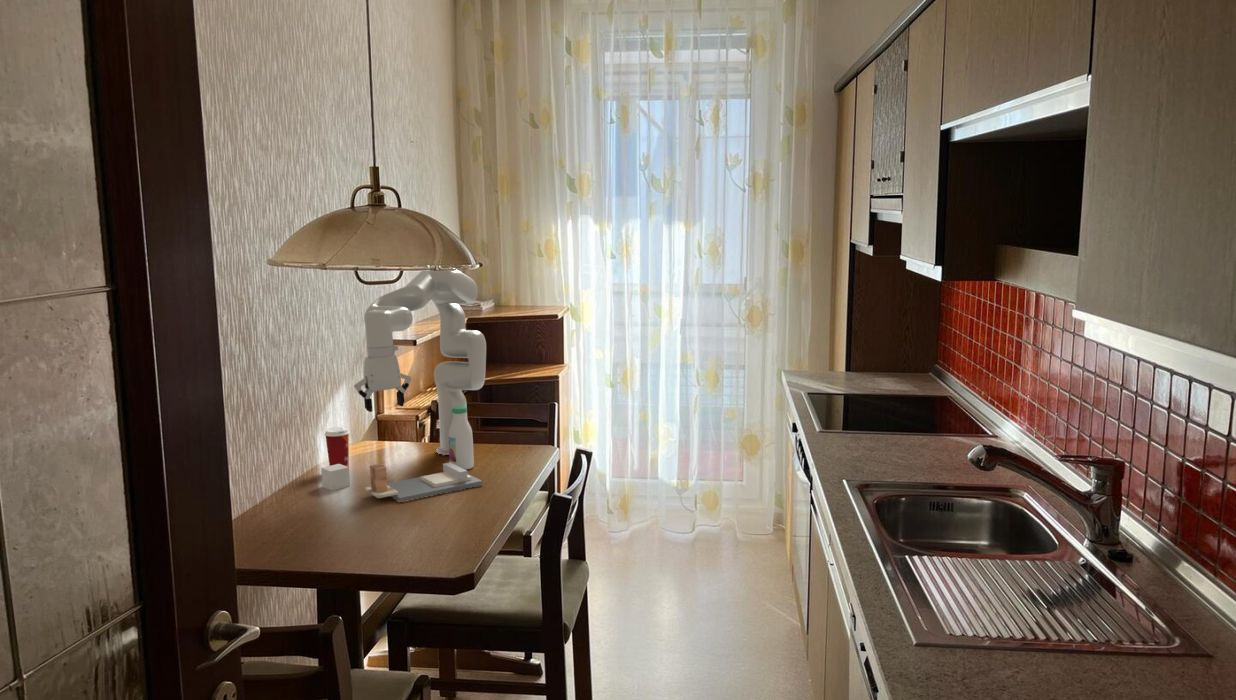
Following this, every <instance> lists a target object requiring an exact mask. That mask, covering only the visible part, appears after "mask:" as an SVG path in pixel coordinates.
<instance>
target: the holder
mask: <svg viewBox="0 0 1236 700" xmlns="http://www.w3.org/2000/svg"><path fill="white" fill-rule="evenodd" d="M442 471H443V472H437V473H432V474H428V475H426V474H425V475H423V476H422V475H421V476H418V477H413V478H409V479H404V480H398V481H393V482H389V483H388V482H387V485H388V486H390V487H392V488H393V489H395V490H396V491H398V494H397V495H392V496H391V498H392V497H393V498H395V499H396V500H398V501H400V502H401V501H406V500H411V499H416V498H421V497H425V496H431V495H436V494H440V493H445V494H447V493H446V492H450V491H455V490H460V489H464V490H466V489H465V488H469V489H473V488H472V487H474V488H477V487H482V486H483V481H482V480H481V479H479V478H478V477H476V476H473V475H471V474H469V473H468V469H467V470H465V469H463V468H461V467H458V466H456V465H454V464H452V463H450V461H449V462H445V463H442ZM470 487H471V488H470ZM460 491H461V490H460ZM455 492H456V491H455ZM450 493H451V492H450ZM436 496H437V495H436ZM431 497H432V496H431ZM393 498H392V499H393ZM395 499H394V500H395ZM396 500H395V501H396ZM398 501H397V502H398Z"/></svg>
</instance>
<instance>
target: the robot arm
mask: <svg viewBox="0 0 1236 700" xmlns="http://www.w3.org/2000/svg"><path fill="white" fill-rule="evenodd" d="M478 293H479V290H478V285H477V283H476V282H475V281H474V279H473V278H472V277H469V276H468V275H466V274H465V273H463V272H462V271H460V270H458V269H456V270H454V271H425V270H424V269H422V271H420V272H419V273H418V274H417V275H416V276H415V277H414V278H413V279H411V280H410V281H409V282H408V284H406V285H404V286H403V287H401V288H398V289H395V290H392V291H391V292H388V293H385V294H383V295H381V296H379V297H378V298H376V299H375V300H374V301H373V302H372V303H371V304H370V305H369V306H368V307H367V309H366V311H365V313H364V316H363V319H364V321H363V322H364V325H365V327H364V328H365V338H366V350H367V357H365V358H364V362H363V363H364V364H363V378H362V379H360V381H358V382H357V383H355V384H354V385H353V387H354V389H355V390H356V392H357V394H358V395H360V396H361V397H362V398H363V401H364V409H365V410H366V411H368V412H369V413H372V412H373V400H372V398H371V396H372V395H373V393H374V392H382V391H386V390H387V391H388V390H393V389H396V390H397V391H396V403H397V406H400V407H404V405H405V404H404V403H405V393H406V390H407V389H408V388H409V387H410V383H411V380H412V377H411V376H409V375H406V374H404V373H401V369H400V364H399V360H398V357H397V355H396V354H395V352H396V351H398V350H399V346H398V345H395V344H394V336H393V332H394V333H395V332H404V331H405V330H409V328H410V327H411V325H412V324H413V321H414V316H413V314H412V312H414V311H418V310H420V309H422V308H424V307H425V306H426V305H427V304H428V303H429V302H430V301H432V302H433V304H434V305H435V307H436V308H437V311H438V312H439V316H440V317H439V319H440V324H439V326H440V327H439V349H440V354H441V355H442V356H444V357H447V358H455V359H456V358H457V359H458V358H462V359H468V361H452V360H449V361H443V362H440V363H438V364H436V366H435V368H434V371H433V379H434V384H435V386H436V391H437V402H438V403H437V404H438V419H439V421H438V422H439V444H440V446H439V447H436V449H435V453H436V452H437V453H438V454H437V453H436V454H437V455H439V454H442V455H441V456H445V455H449V429H450V426H451V423H452V420H453V413H452V408H453V407H457V406H464V407H466V408H467V409H468V407H467V405H468V403H467V399H466V396H465V394H464V393H463V391H462V390H465V391H478V390H480V389H482V388H483V386H484V384H485V382H486V381H485V380H486V373H487V371H486V370H487V368H486V367H487V366H486V365H487V341H486V338H485V335H484V333H482V332H481V331H479V330H475V329H474V330H473V329H472V330H471V329H467V328H466V314H465V312H464V309H463V308H462V306H461V305H467V304H469V305H470V304H472V303H474V302H475V301H476V299H477V297H478ZM402 379H404V383H402ZM363 386H364V389H365V390H364V391H363V390H362V387H363ZM466 417H467V418H468V413H467V414H466Z"/></svg>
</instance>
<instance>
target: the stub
mask: <svg viewBox="0 0 1236 700" xmlns="http://www.w3.org/2000/svg"><path fill="white" fill-rule="evenodd" d="M369 474H370V486H366V487H365V488H364V489H365V491H366V492H368V493H369V494H371V495H372V496H374V497H375V498H377V499H383V498H387V497H390V496H392V495H397V494H398V491H396V490H395V489H393V488H392V487H390V486H388V485H387V483H388V476H387V467H386V466H385V465H383V464H381V463H377V464H371V465H369Z"/></svg>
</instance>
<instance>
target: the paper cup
mask: <svg viewBox="0 0 1236 700" xmlns="http://www.w3.org/2000/svg"><path fill="white" fill-rule="evenodd" d="M350 433H351V432H350V431H349V429H348V428H347V427H346V426H338V427H335V426H334V427H330V428H327V429H325V433H324V436H325V441H326V448H327V457H328V465H329V466H331V465H336V464H341V465H344V466H347V467H349V466H350V464H349V463H350V462H349V461H350V458H349V457H350V456H349V454H350V453H349V452H350V451H349V449H350V448H349V447H350V446H349V445H350V443H349V439H350V438H349V437H350V436H349V434H350ZM349 468H350V467H349Z"/></svg>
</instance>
